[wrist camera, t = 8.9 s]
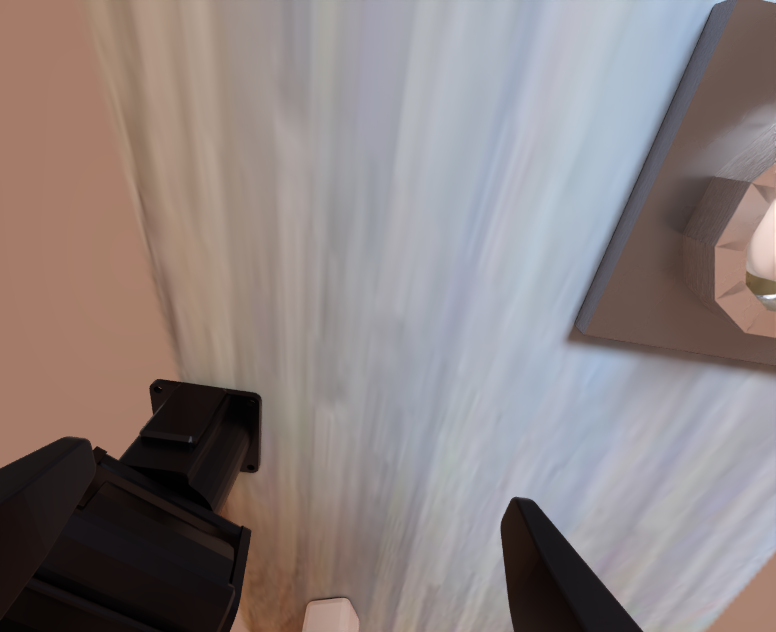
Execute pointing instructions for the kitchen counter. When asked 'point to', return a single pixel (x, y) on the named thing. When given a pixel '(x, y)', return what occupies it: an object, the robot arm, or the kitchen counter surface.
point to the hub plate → (701, 206)
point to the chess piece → (763, 247)
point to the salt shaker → (330, 616)
